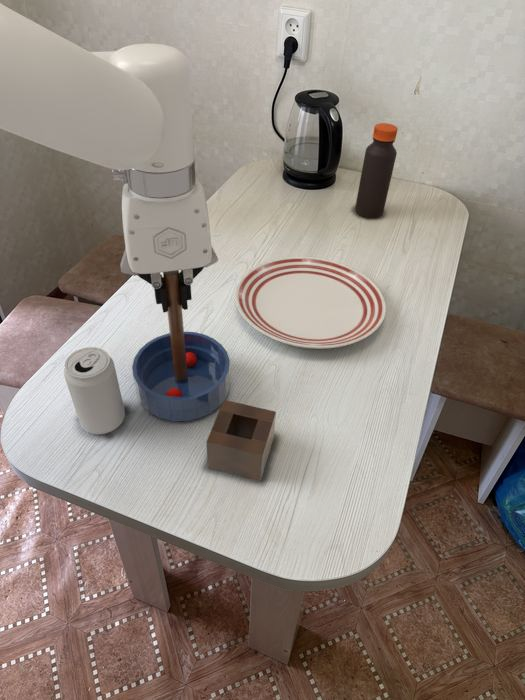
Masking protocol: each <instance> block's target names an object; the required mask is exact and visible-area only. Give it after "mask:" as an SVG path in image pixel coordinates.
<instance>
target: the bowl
mask: <svg viewBox="0 0 525 700" xmlns="http://www.w3.org/2000/svg"><path fill="white" fill-rule="evenodd" d="M184 339H185V350H186V353H187V352H192V353H194V354H195V355H196V357H197V362H196V364H195V365H194V366H192V367H187V374H188V378H187V379H186V380H185V381H182V382H180V381H177V380H176V379H175V375H174V366H173V357H172V348H171V339H170V332H167V333H164V334H162V335H159V336H157V337H154V338H153V339H151V340H149V341H148V342H146V343H145V344H144V345H143V346H142V347H141V348H140V349H139V350H138V351H137V353H136V355H135V356H134V358H133V363H132V366H131V368H132V369H131V370H132V376H133V381H134V386H135V392H136V397H137V399H138V402H139V403H140V404H141V407H143V408H144V409H145V410H146V411H147V412H148V413H150V414H151V415H154V416H155V417H157V418H159V419H162V420H167V421H172V422H175V421H176V422H188V421H193V420H198V419H200V418H203V417H205V416H207V415H210V414H211V413H213V412H214V411H216V410H217V409H218V408H219V407H221V406H222V403H223V401H224V400H227V397H228V394H229V392H230V385H231V382H230V380H231V374H230V372H231V371H230V370H231V364H230V363H231V362H230V358H229V357H230V356H229V354H228V351H227V350H226V349H225V347H224V346H223V345H222V343H220V341H218V340H216V339H215V338H213V337H212V336H209V335H206V334H204V333H201V332H195V331H184ZM172 388H178V389H179V390H181V392H182V394H183V397H169V396H166V394H167V392H168V391H169V390H170V389H172Z"/></svg>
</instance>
